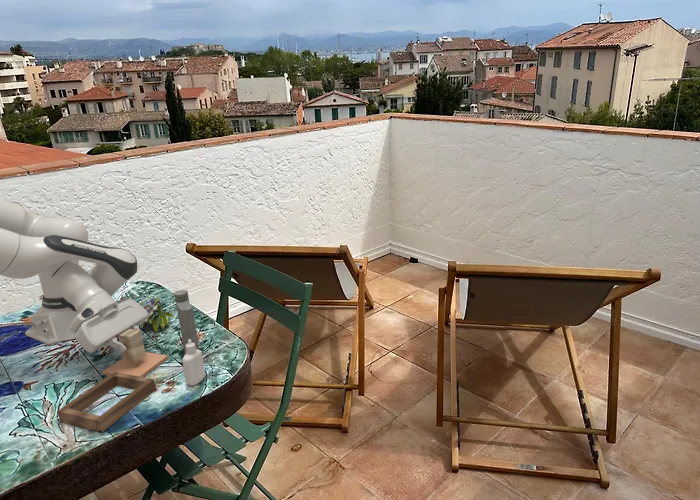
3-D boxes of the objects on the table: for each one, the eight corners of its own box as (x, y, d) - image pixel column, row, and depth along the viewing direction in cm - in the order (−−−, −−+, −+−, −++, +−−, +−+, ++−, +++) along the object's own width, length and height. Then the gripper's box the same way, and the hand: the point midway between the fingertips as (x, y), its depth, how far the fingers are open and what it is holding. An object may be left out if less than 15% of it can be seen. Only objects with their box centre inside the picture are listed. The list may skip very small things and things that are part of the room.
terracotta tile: (103, 374, 126) (102, 371, 126) (135, 353, 137) (135, 350, 136) (137, 381, 122) (136, 378, 122) (168, 358, 133) (167, 355, 132)
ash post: (124, 360, 127) (118, 335, 125) (134, 353, 131) (129, 328, 128) (135, 362, 126) (129, 337, 124) (145, 355, 129) (140, 330, 127)
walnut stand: (60, 421, 107) (57, 410, 106) (117, 381, 122) (114, 371, 121) (102, 432, 103) (99, 421, 102) (156, 389, 118) (154, 379, 117)
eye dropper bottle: (182, 380, 121) (175, 340, 118) (203, 372, 125) (196, 333, 121) (188, 387, 118) (181, 346, 115) (209, 379, 122) (203, 339, 118)
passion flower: (147, 341, 155) (133, 310, 156) (179, 327, 159) (165, 296, 161) (145, 336, 145) (130, 302, 146) (178, 321, 149) (163, 289, 151)
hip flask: (202, 365, 129) (191, 300, 122) (187, 369, 127) (175, 303, 121) (195, 341, 142) (185, 281, 136) (181, 344, 141) (171, 284, 135)
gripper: (123, 301, 138) (155, 334, 138) (63, 332, 120) (99, 370, 119) (132, 288, 135) (164, 322, 135) (72, 318, 117) (109, 357, 117)
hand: (133, 345), depth 127 cm, fingers closed on ash post, 4 cm apart
